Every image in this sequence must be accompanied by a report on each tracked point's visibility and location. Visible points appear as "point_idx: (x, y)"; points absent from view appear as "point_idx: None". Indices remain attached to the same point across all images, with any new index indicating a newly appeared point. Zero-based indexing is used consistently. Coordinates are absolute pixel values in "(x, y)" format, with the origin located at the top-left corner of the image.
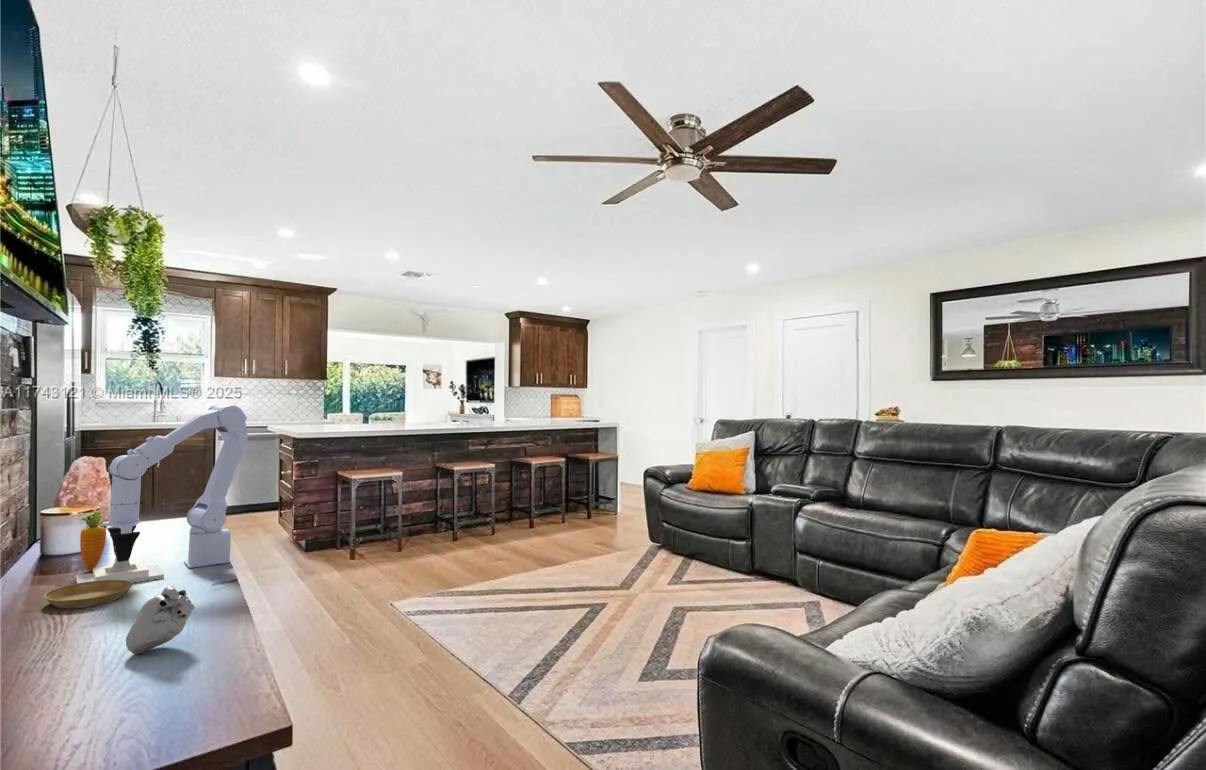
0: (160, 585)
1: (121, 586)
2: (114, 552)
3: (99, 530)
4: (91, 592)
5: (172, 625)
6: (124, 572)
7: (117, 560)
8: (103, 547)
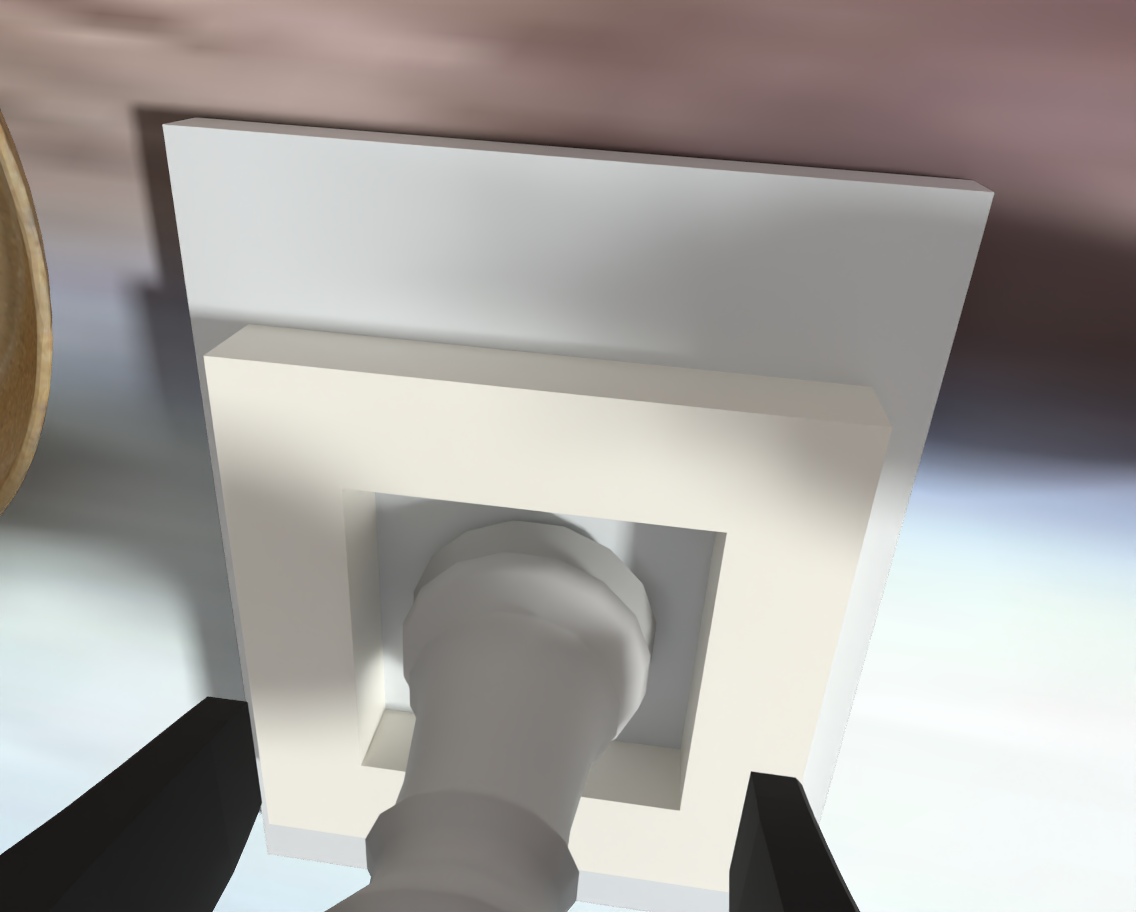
0: (38, 741)
1: None
2: (761, 808)
3: None
4: (13, 238)
5: None
6: (273, 643)
7: (195, 708)
8: None
